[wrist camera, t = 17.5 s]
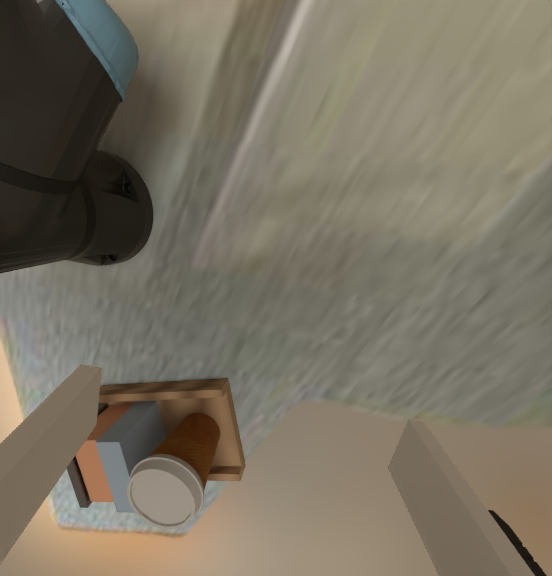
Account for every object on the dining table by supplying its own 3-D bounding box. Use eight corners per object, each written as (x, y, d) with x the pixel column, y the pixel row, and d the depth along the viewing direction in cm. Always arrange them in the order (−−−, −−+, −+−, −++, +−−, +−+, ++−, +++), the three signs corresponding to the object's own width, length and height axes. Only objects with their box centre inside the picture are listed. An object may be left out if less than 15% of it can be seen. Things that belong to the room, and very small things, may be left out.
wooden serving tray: (228, 378, 47) (221, 389, 44) (245, 465, 50) (240, 480, 47) (103, 385, 51) (89, 395, 48) (126, 465, 54) (115, 479, 51)
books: (156, 400, 48) (119, 441, 39) (172, 460, 50) (140, 512, 42) (109, 402, 49) (63, 442, 41) (126, 460, 52) (86, 510, 43)
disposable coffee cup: (236, 415, 46) (206, 483, 35) (223, 465, 49) (190, 543, 37) (177, 394, 47) (128, 454, 35) (167, 444, 50) (118, 514, 38)
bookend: (108, 402, 49) (64, 440, 41) (125, 460, 52) (87, 507, 44) (99, 402, 50) (54, 440, 42) (116, 461, 52) (77, 507, 44)
